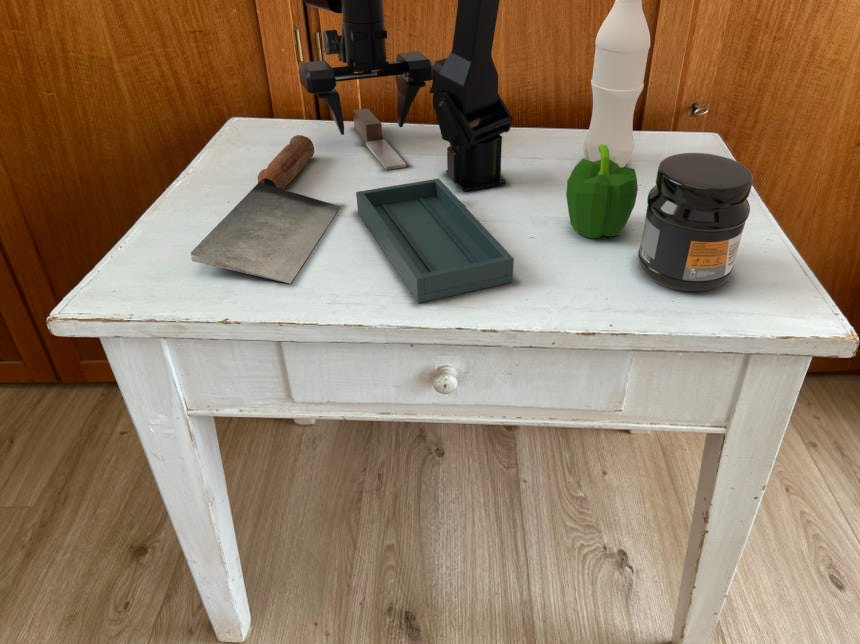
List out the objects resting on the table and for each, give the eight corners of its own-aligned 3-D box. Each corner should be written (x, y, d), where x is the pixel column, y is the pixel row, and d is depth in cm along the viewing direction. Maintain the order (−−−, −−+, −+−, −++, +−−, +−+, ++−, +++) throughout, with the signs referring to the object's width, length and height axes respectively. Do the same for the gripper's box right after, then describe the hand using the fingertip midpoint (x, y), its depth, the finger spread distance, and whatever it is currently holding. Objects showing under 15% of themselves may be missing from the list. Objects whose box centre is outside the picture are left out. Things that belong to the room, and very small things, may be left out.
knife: (370, 126, 113) (369, 108, 111) (406, 167, 101) (405, 146, 99) (352, 129, 112) (351, 110, 110) (386, 170, 100) (384, 149, 98)
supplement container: (747, 292, 77) (778, 188, 69) (655, 299, 75) (677, 195, 68) (706, 244, 85) (730, 147, 77) (622, 250, 83) (639, 152, 76)
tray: (439, 199, 93) (438, 178, 91) (512, 282, 77) (513, 258, 75) (357, 213, 89) (355, 191, 87) (417, 303, 73) (416, 279, 72)
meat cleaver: (291, 283, 76) (286, 250, 73) (191, 274, 77) (182, 241, 74) (369, 163, 102) (367, 136, 100) (293, 157, 103) (289, 130, 101)
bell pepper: (624, 251, 83) (637, 171, 77) (556, 239, 85) (564, 160, 79) (635, 220, 89) (648, 143, 83) (571, 210, 91) (580, 134, 85)
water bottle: (638, 161, 104) (670, -29, 89) (618, 178, 99) (648, -21, 84) (594, 150, 107) (617, -36, 92) (573, 166, 102) (593, -28, 87)
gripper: (407, 2, 107) (411, 106, 116) (283, 11, 100) (298, 120, 110) (434, 19, 99) (436, 129, 108) (301, 30, 92) (315, 145, 102)
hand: (371, 130), depth 107 cm, fingers open, 9 cm apart
